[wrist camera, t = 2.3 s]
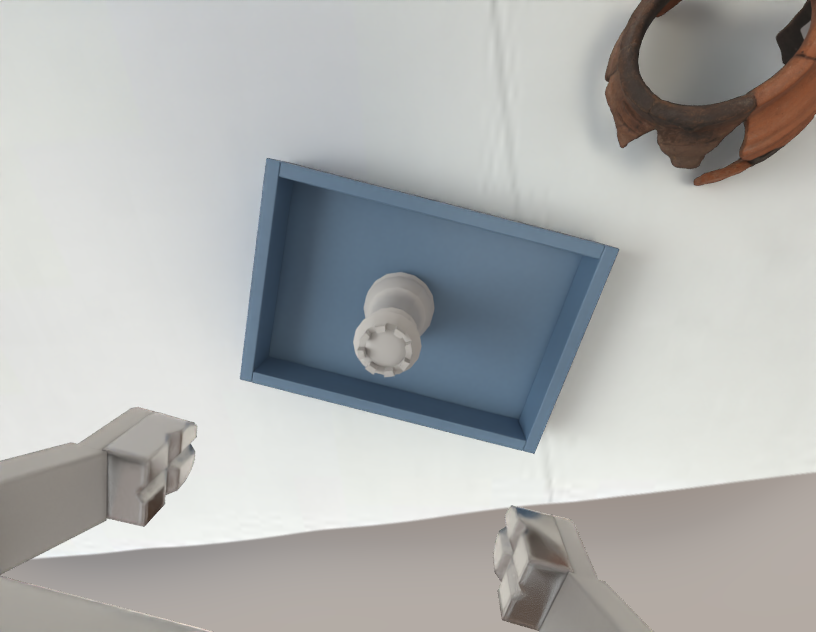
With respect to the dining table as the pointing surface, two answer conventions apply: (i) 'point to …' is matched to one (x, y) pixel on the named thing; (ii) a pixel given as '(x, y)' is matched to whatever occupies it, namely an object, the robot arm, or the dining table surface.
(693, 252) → the dining table surface
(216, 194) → the dining table surface
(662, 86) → the dining table surface
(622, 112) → the broken clay pot
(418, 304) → the rook chess piece
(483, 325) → the tray
